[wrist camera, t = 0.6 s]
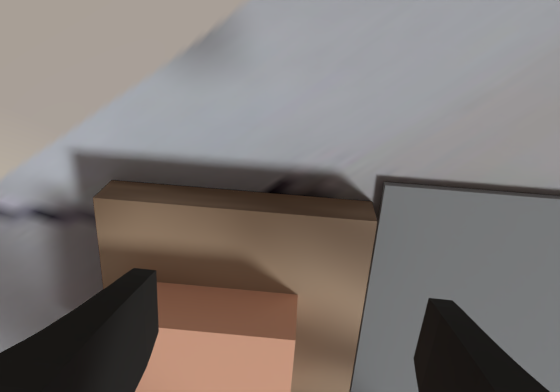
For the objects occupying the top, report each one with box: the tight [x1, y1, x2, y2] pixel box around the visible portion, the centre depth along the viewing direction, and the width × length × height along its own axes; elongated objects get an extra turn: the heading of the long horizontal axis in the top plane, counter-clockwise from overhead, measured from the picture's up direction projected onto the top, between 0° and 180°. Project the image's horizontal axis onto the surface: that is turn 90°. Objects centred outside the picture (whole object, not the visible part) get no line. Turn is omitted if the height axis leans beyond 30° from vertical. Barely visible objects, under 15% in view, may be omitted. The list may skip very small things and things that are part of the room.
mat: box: [349, 182, 560, 392], centre depth 23 cm, size 16×15×1 cm
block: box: [135, 282, 298, 392], centre depth 21 cm, size 6×8×3 cm
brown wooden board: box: [93, 180, 377, 392], centre depth 23 cm, size 14×12×2 cm
